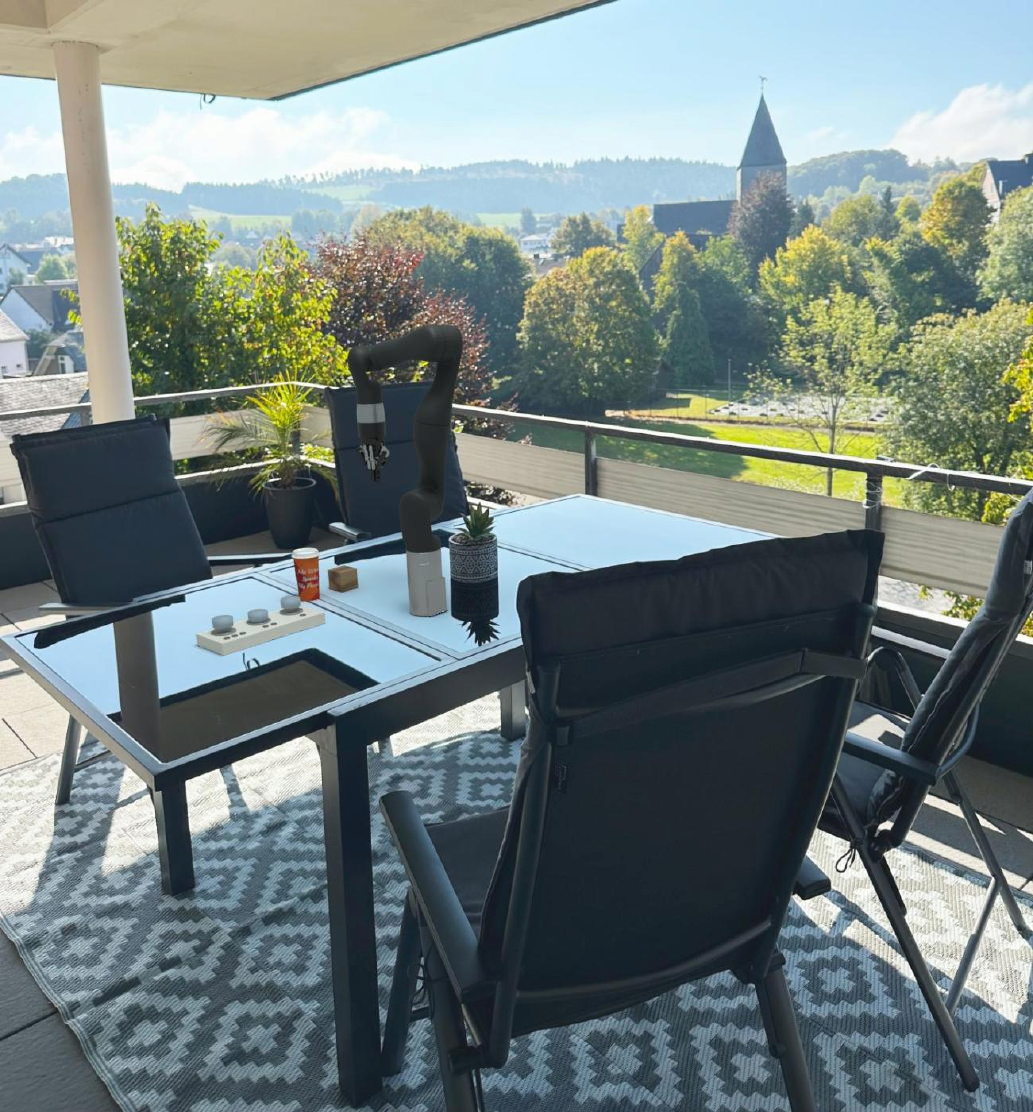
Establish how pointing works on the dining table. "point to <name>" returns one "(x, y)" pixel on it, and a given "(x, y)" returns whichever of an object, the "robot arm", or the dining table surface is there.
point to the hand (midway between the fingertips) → (375, 482)
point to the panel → (259, 630)
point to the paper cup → (307, 573)
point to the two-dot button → (257, 615)
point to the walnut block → (343, 579)
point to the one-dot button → (290, 602)
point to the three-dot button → (222, 622)
